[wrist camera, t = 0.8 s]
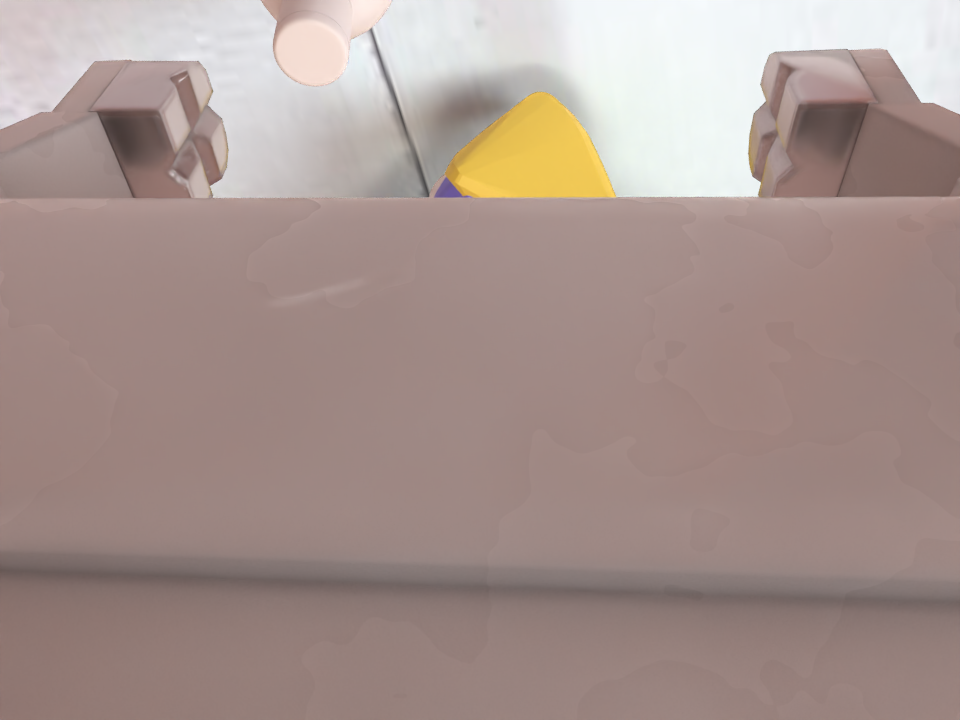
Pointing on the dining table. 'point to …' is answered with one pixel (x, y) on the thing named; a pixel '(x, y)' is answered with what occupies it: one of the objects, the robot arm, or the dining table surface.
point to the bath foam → (319, 35)
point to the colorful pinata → (527, 157)
